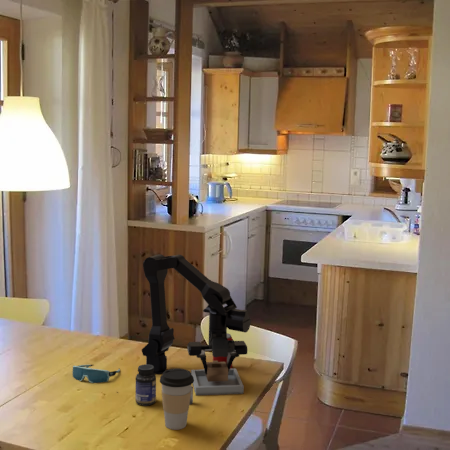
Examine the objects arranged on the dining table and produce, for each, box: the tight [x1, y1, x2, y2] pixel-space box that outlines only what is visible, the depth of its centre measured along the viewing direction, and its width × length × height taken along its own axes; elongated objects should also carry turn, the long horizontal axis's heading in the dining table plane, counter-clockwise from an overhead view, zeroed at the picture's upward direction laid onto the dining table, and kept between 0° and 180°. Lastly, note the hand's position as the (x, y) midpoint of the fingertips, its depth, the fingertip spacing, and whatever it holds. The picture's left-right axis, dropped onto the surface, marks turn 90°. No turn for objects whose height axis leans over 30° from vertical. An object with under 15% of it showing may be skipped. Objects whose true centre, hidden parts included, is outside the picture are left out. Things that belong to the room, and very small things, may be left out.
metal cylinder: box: [189, 385, 194, 406], centre depth 194 cm, size 2×2×5 cm
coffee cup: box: [159, 367, 194, 431], centre depth 179 cm, size 9×9×15 cm
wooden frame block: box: [206, 360, 228, 382], centre depth 208 cm, size 6×8×4 cm
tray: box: [190, 368, 245, 396], centre depth 208 cm, size 15×15×2 cm
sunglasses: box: [72, 364, 121, 384], centre depth 214 cm, size 14×15×5 cm
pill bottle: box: [135, 363, 157, 407], centre depth 193 cm, size 6×6×11 cm
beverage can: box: [212, 332, 234, 369], centre depth 222 cm, size 7×7×12 cm
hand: (216, 373), depth 208 cm, fingers closed on wooden frame block, 6 cm apart
